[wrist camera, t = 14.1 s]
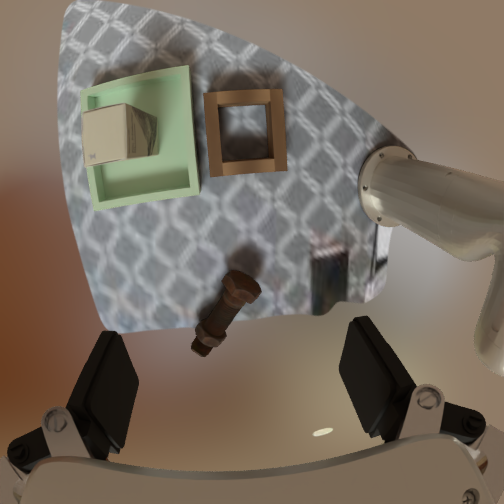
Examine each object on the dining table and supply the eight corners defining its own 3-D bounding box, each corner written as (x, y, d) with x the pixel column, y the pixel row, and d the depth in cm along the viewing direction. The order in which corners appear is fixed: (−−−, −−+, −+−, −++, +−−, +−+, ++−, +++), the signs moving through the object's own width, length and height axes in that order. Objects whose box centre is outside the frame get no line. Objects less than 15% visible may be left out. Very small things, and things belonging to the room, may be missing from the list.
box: (159, 155, 31) (128, 163, 19) (127, 159, 31) (82, 171, 19) (158, 114, 29) (126, 100, 17) (125, 119, 29) (79, 111, 17)
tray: (190, 71, 28) (188, 64, 25) (200, 190, 34) (199, 194, 32) (89, 93, 27) (80, 90, 24) (102, 205, 33) (93, 211, 30)
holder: (275, 93, 31) (282, 88, 27) (280, 168, 34) (287, 170, 31) (204, 98, 30) (203, 93, 27) (210, 173, 34) (210, 177, 30)
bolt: (195, 334, 45) (239, 266, 41) (218, 352, 44) (266, 287, 40) (177, 348, 40) (222, 274, 35) (202, 368, 39) (253, 298, 34)
